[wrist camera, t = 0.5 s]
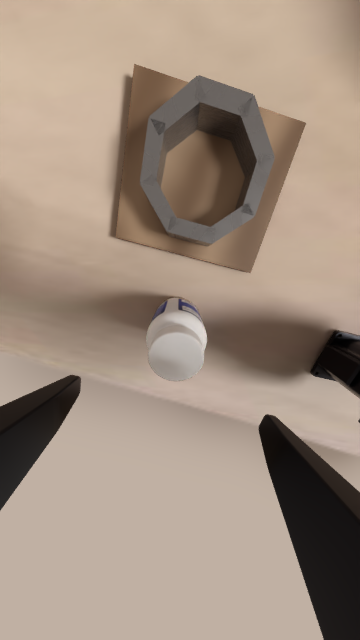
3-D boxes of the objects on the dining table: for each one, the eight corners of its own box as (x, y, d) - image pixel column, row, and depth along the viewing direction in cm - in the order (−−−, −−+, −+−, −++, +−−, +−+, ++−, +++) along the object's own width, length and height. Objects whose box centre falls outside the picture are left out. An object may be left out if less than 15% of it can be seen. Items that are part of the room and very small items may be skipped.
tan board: (297, 132, 14) (305, 123, 13) (246, 272, 18) (250, 272, 17) (137, 77, 13) (134, 64, 12) (119, 238, 17) (115, 236, 16)
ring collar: (272, 134, 14) (292, 107, 11) (233, 253, 17) (242, 252, 14) (160, 97, 13) (156, 60, 11) (141, 228, 16) (134, 222, 14)
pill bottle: (162, 342, 21) (149, 394, 13) (150, 302, 19) (126, 332, 11) (203, 333, 21) (218, 381, 12) (194, 292, 19) (206, 315, 11)
